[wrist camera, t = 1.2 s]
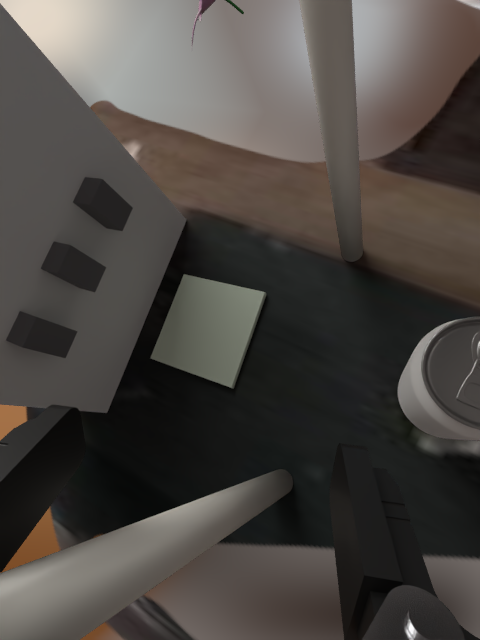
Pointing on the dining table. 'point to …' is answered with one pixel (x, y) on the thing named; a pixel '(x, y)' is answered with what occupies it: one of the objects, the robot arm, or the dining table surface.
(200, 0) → the lily
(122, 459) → the dining table surface
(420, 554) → the robot arm
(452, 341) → the can
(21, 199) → the breaker panel
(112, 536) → the cord posts
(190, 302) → the pad
